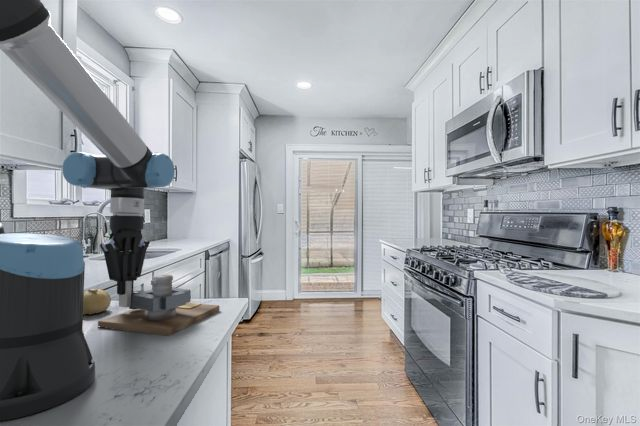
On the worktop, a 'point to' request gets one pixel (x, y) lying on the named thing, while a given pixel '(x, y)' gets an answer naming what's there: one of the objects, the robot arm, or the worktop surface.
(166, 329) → the base
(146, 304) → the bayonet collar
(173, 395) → the worktop surface
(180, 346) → the worktop surface
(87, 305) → the onion
